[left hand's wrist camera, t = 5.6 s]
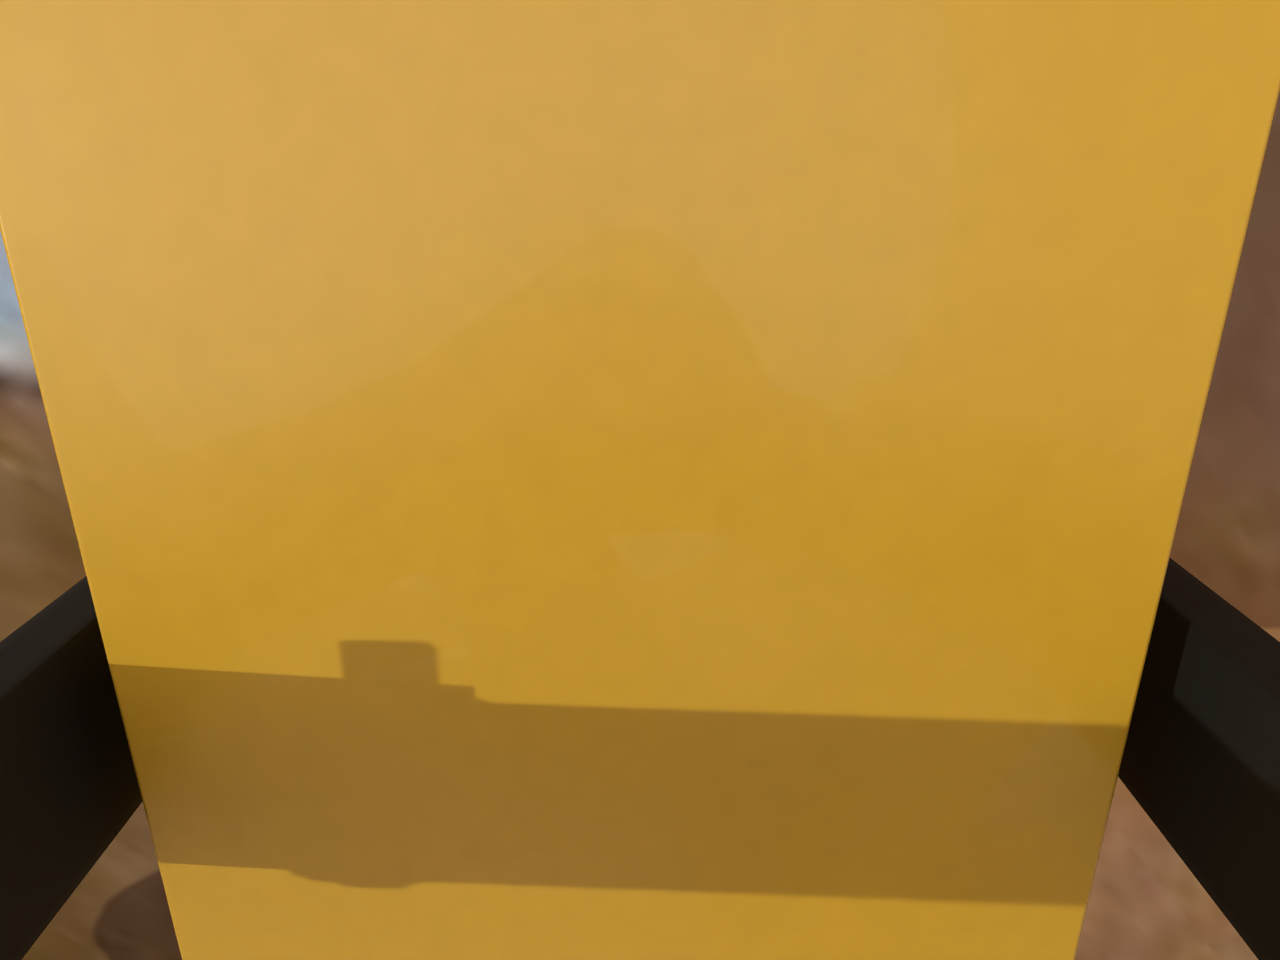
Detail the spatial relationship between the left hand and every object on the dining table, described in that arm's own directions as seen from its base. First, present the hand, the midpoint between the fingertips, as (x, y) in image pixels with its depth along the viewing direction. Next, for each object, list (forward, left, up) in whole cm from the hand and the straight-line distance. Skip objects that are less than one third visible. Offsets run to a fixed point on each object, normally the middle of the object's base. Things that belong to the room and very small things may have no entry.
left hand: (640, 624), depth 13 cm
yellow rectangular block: (+7, -2, -8) cm, 11 cm away
